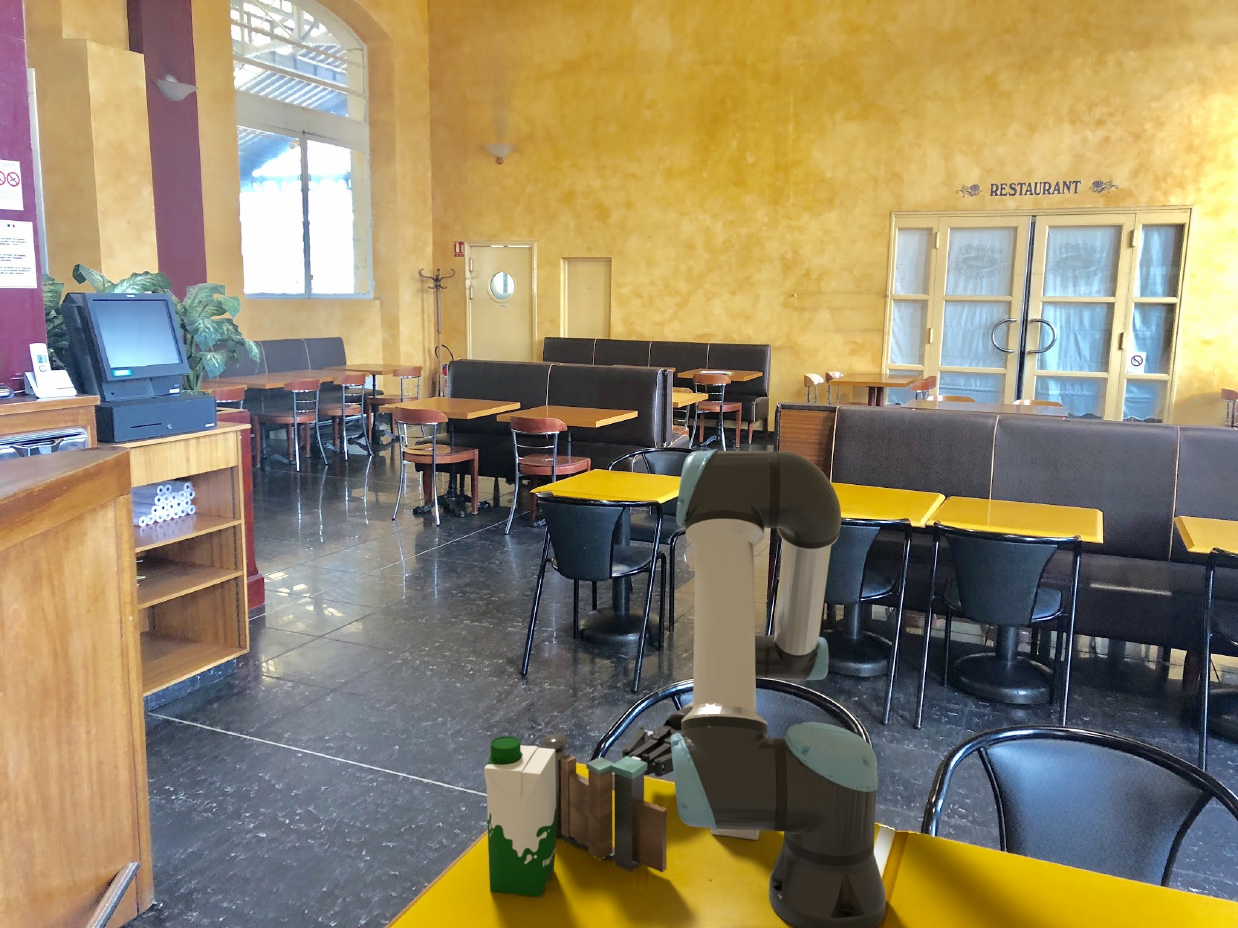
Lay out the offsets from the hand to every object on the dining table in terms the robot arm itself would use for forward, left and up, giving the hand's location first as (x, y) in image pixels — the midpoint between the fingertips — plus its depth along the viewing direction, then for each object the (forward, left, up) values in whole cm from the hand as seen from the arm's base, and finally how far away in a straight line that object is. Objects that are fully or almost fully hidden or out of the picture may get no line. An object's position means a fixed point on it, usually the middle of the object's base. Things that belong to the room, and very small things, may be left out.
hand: (613, 781), depth 142 cm
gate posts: (-3, +6, -8) cm, 10 cm away
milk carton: (+2, +18, -8) cm, 20 cm away
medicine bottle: (-15, -12, -8) cm, 21 cm away
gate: (0, +7, -6) cm, 10 cm away
